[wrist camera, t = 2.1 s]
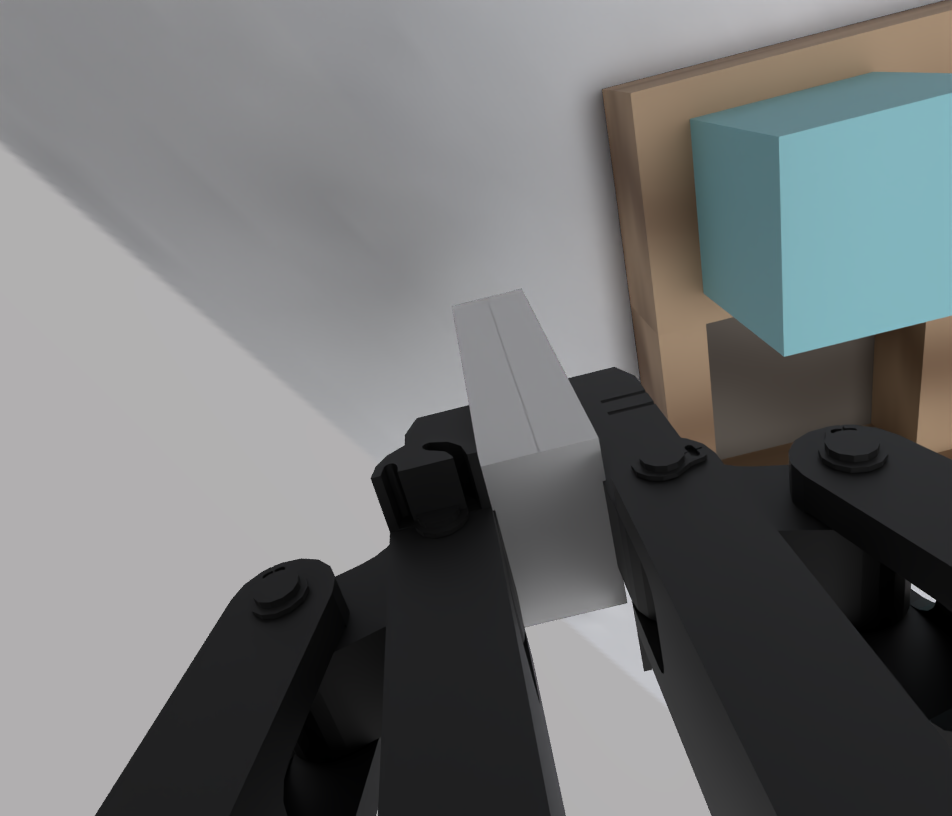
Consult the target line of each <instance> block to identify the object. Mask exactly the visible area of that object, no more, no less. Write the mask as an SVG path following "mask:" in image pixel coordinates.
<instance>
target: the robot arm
mask: <svg viewBox="0 0 952 816" xmlns="http://www.w3.org/2000/svg"><path fill="white" fill-rule="evenodd" d="M452 310H453V315H454V321H455V327H456V333H457V338H458V344H459V350H460V356H461V361H462V367H463V373H464V379H465V384H466V390H467V396H468V401H469V405H468V406H464V407H460V408H456V409H452V410H448V411H444V412H440V413H436V414H432V415H428V416H424V417H420V418H417V419H416V420H415V422H414V423H413V424H412V426H411V427H410V429H409V430H408V432H407V433H406V434H405V446H403V447H401V448H399V449H398V450H396V451H394V452H392V453H391V454H389V455H387V456H386V457H385V458H384V459H383V460H382V461H381V462H380V463H379V464H378V465H377V466H376V467H375V470H374V472H373V474H372V477H371V480H372V483H373V486H374V489H375V492H376V494H377V497H378V500H379V503H380V506H381V508H382V511H383V514H384V517H385V519H386V522H387V525H388V528H389V531H390V545H389V546H388V547H387V548H386V549H384V550H383V551H382V552H380V553H379V554H378V555H377V556H375V557H374V558H372V559H370V560H368V561H366V562H365V563H363V564H361V565H359V566H357V567H355V568H353V569H351V570H349V571H346V572H344V573H342V574H340V575H338V576H336V577H335V576H334V574H333V571H332V569H331V567H330V566H329V565H327V564H325V563H323V562H321V561H320V560H316V559H297V560H293V561H288V562H283V563H280V564H278V565H275V566H274V567H272V568H269V569H267V570H265V571H263V572H261V573H260V574H258V575H257V576H256V577H254V578H253V579H252V580H250V581H249V582H247V583H246V584H245V585H244V586H243V587H242V588H241V589H240V590H239V591H238V593H237V594H236V595H235V596H234V597H233V599H232V600H231V601H230V603H229V604H228V606H227V607H226V609H225V611H224V612H223V614H222V615H221V617H220V618H219V620H218V622H217V623H216V625H215V627H214V628H213V630H212V631H211V633H210V634H209V636H208V638H207V639H206V641H205V642H204V644H203V645H202V647H201V649H200V650H199V652H198V653H197V655H196V657H195V658H194V660H193V661H192V663H191V664H190V666H189V668H188V669H187V671H186V673H185V674H184V675H183V677H182V679H181V680H180V682H179V684H178V685H177V687H176V689H175V690H174V691H173V693H172V694H171V696H170V698H169V699H168V701H167V703H166V704H165V706H164V707H163V709H162V710H161V712H160V713H159V715H158V717H157V718H156V720H155V721H154V723H153V725H152V726H151V728H150V729H149V731H148V733H147V734H146V736H145V737H144V739H143V740H142V742H141V744H140V745H139V747H138V748H137V750H136V752H135V753H134V755H133V756H132V758H131V759H130V761H129V763H128V764H127V766H126V767H125V769H124V770H123V772H122V774H121V775H120V777H119V778H118V780H117V782H116V783H115V785H114V786H113V788H112V790H111V791H110V793H109V794H108V796H107V797H106V799H105V801H104V802H103V804H102V805H101V807H100V808H99V810H98V812H97V813H96V815H95V816H376V814H377V810H378V816H566V815H565V810H564V805H563V801H562V796H561V792H560V787H559V782H558V777H557V772H556V768H555V763H554V759H553V753H552V749H551V744H550V739H549V735H548V730H547V725H546V720H545V716H544V711H543V706H542V701H541V697H540V692H539V687H538V682H537V677H536V673H535V668H534V663H533V659H532V655H531V651H530V647H529V643H528V639H527V636H526V632H525V627H529V626H533V625H537V624H541V623H545V622H549V621H554V620H558V619H562V618H566V617H571V616H575V615H579V614H583V613H587V612H592V611H596V610H600V609H604V608H608V607H612V606H617V605H621V604H625V603H627V598H626V592H625V587H624V583H625V585H626V588H627V590H628V592H629V595H630V597H631V599H632V603H633V609H634V615H635V621H636V627H637V632H638V638H639V644H640V650H641V656H642V662H643V668H644V671H648V670H652V669H653V671H654V674H655V676H656V679H657V681H658V684H659V686H660V689H661V691H662V694H663V696H664V699H665V701H666V704H667V706H668V709H669V711H670V713H671V716H672V718H673V721H674V723H675V726H676V728H677V731H678V733H679V736H680V738H681V741H682V743H683V745H684V748H685V751H686V753H687V756H688V758H689V760H690V763H691V766H692V768H693V770H694V773H695V776H696V778H697V780H698V783H699V785H700V788H701V790H702V793H703V795H704V798H705V800H706V803H707V805H708V808H709V810H710V813H711V815H712V816H952V460H951V459H949V458H947V457H945V456H943V455H941V454H938V453H936V452H934V451H932V450H930V449H928V448H926V447H924V446H921V445H919V444H917V443H915V442H913V441H911V440H909V439H907V438H904V437H902V436H900V435H898V434H895V433H892V432H889V431H886V430H883V429H880V428H876V427H867V426H859V425H841V426H840V425H835V426H828V427H825V428H821V429H817V430H813V431H810V432H808V433H806V434H804V435H803V436H801V437H800V438H798V439H796V440H795V441H794V443H793V444H792V446H791V448H790V450H789V451H788V453H789V465H774V466H732V465H725V464H724V463H723V462H722V461H721V459H720V458H719V457H718V456H717V454H716V453H715V452H714V451H712V450H711V449H710V448H708V447H707V446H706V445H704V444H703V443H700V442H697V441H694V440H690V439H687V438H681V437H680V436H679V434H678V433H677V432H676V430H675V429H674V428H673V426H672V425H671V424H670V422H669V421H668V420H667V418H666V417H665V416H664V414H663V413H662V412H661V410H660V409H659V408H658V406H657V405H656V404H654V401H653V400H652V398H651V397H650V396H649V394H648V393H647V392H645V389H644V387H643V386H642V385H641V383H640V382H639V381H638V379H637V378H636V377H635V376H634V375H632V374H629V373H627V372H625V371H622V370H620V369H618V368H616V367H612V368H608V369H604V370H600V371H596V372H592V373H588V374H584V375H580V376H576V377H572V378H567V376H566V374H565V372H564V370H563V368H562V366H561V364H560V362H559V360H558V358H557V356H556V354H555V353H554V351H553V349H552V347H551V345H550V343H549V341H548V339H547V337H546V335H545V333H544V331H543V329H542V327H541V325H540V323H539V322H538V320H537V318H536V316H535V314H534V312H533V310H532V308H531V306H530V304H529V302H528V300H527V298H526V296H525V294H524V292H523V291H522V289H518V290H514V291H510V292H506V293H502V294H499V295H495V296H491V297H487V298H483V299H479V300H475V301H471V302H467V303H463V304H459V305H455V306H452ZM623 580H624V581H623ZM911 583H912V584H913V585H915V586H916V587H918V588H919V589H921V590H922V591H924V592H925V593H927V594H928V595H930V596H931V597H932V598H934V599H935V600H936V603H934V602H931V601H929V600H927V599H925V598H923V597H922V596H920V595H919V594H918V593H916V592H915V591H913V590H912V589H911Z"/></svg>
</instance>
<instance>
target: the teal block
mask: <svg viewBox="0 0 952 816" xmlns="http://www.w3.org/2000/svg"><path fill="white" fill-rule="evenodd" d="M690 129H691V142H692V154H693V167H694V179H695V192H696V205H697V217H698V230H699V242H700V255H701V268H702V280H703V293H704V294H705V295H706V296H707V297H709V298H710V299H711V300H712V301H714V302H715V303H716V304H718V305H719V306H720V307H721V308H723V309H724V310H725V311H726V312H728V313H729V314H730V315H731V316H733V317H734V318H735V319H737V320H738V321H739V322H740V323H742V324H743V325H744V326H745V327H747V328H748V329H749V330H751V331H752V332H753V333H754V334H756V335H757V336H758V337H759V338H761V339H762V340H763V341H765V342H766V343H767V344H768V345H770V346H771V347H772V348H773V349H775V350H776V351H777V352H779V353H780V354H781V355H782V356H784V357H785V356H790V355H794V354H798V353H802V352H806V351H810V350H814V349H818V348H822V347H826V346H830V345H834V344H838V343H842V342H846V341H850V340H855V339H859V338H863V337H867V336H871V335H875V334H879V333H883V332H887V331H891V330H895V329H899V328H903V327H907V326H911V325H915V324H920V323H924V322H928V321H932V320H936V319H940V318H944V317H948V316H952V73H913V72H870V73H867V74H863V75H859V76H855V77H851V78H847V79H843V80H839V81H835V82H832V83H828V84H824V85H820V86H816V87H812V88H808V89H804V90H800V91H796V92H793V93H789V94H785V95H781V96H777V97H773V98H769V99H765V100H761V101H758V102H754V103H750V104H746V105H742V106H738V107H734V108H730V109H726V110H722V111H719V112H715V113H711V114H707V115H703V116H699V117H695V118H691V119H690Z"/></svg>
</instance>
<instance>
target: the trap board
mask: <svg viewBox="0 0 952 816" xmlns="http://www.w3.org/2000/svg"><path fill="white" fill-rule="evenodd" d="M870 72H913V73H952V0H945V1H941V2H937V3H933V4H929V5H925V6H921V7H917V8H914V9H910V10H906V11H902V12H898V13H894V14H890V15H887V16H883V17H879V18H875V19H871V20H867V21H863V22H860V23H856V24H852V25H848V26H844V27H840V28H836V29H833V30H829V31H825V32H821V33H817V34H813V35H809V36H806V37H802V38H798V39H794V40H790V41H786V42H782V43H778V44H775V45H771V46H767V47H763V48H759V49H755V50H751V51H748V52H744V53H740V54H736V55H732V56H728V57H724V58H721V59H717V60H713V61H709V62H705V63H701V64H697V65H694V66H690V67H686V68H682V69H678V70H674V71H670V72H667V73H663V74H659V75H655V76H651V77H647V78H643V79H639V80H636V81H632V82H628V83H624V84H620V85H616V86H612V87H609V88H605V89H602V93H603V100H604V108H605V116H606V123H607V131H608V138H609V146H610V153H611V161H612V168H613V176H614V184H615V191H616V199H617V206H618V214H619V221H620V229H621V236H622V244H623V252H624V259H625V267H626V274H627V282H628V289H629V297H630V305H631V312H632V320H633V327H634V335H635V342H636V350H637V357H638V365H639V373H640V380H641V385H642V386H643V387H644V389H645V392H647V393H648V394H649V396H650V397H651V398H652V400H653V401H654V404H656V405H657V406H658V408H659V409H660V410H661V412H662V413H663V414H664V416H665V417H666V418H667V420H668V421H669V422H670V424H671V425H672V426H673V428H674V429H675V430H676V432H677V433H678V434H679V436H680V437H681V438H687V439H690V440H694V441H697V442H700V443H703V444H704V445H706V446H707V447H708V448H710V449H711V450H712V451H714V452H715V453H716V454H717V456H718V457H719V458H720V459H721V461H722V462H723V463H724V464H725V465H732V466H774V465H789V453H788V451H789V450H790V448H791V446H792V444H793V443H794V441H795V440H796V439H798V438H800V437H801V436H803V435H804V434H806V433H808V432H810V431H813V430H817V429H821V428H825V427H828V426H835V425H840V426H841V425H859V426H867V427H876V428H880V429H883V430H886V431H889V432H892V433H895V434H898V435H900V436H902V437H904V438H907V439H909V440H911V441H913V442H915V443H917V444H919V445H921V446H924V447H926V448H928V449H930V450H932V451H934V452H936V453H938V454H941V455H943V456H945V457H947V458H949V459H951V460H952V316H948V317H944V318H940V319H936V320H932V321H928V322H924V323H920V324H915V325H911V326H907V327H903V328H899V329H895V330H891V331H887V332H883V333H879V334H875V335H871V336H867V337H863V338H859V339H855V340H850V341H846V342H842V343H838V344H834V345H830V346H826V347H822V348H818V349H814V350H810V351H806V352H802V353H798V354H794V355H790V356H785V357H784V356H782V355H781V354H780V353H779V352H777V351H776V350H775V349H773V348H772V347H771V346H770V345H768V344H767V343H766V342H765V341H763V340H762V339H761V338H759V337H758V336H757V335H756V334H754V333H753V332H752V331H751V330H749V329H748V328H747V327H745V326H744V325H743V324H742V323H740V322H739V321H738V320H737V319H735V318H734V317H733V316H731V315H730V314H729V313H728V312H726V311H725V310H724V309H723V308H721V307H720V306H719V305H718V304H716V303H715V302H714V301H712V300H711V299H710V298H709V297H707V296H706V295H705V294H704V293H703V280H702V268H701V255H700V242H699V230H698V217H697V205H696V192H695V179H694V167H693V154H692V142H691V129H690V119H691V118H695V117H699V116H703V115H707V114H711V113H715V112H719V111H722V110H726V109H730V108H734V107H738V106H742V105H746V104H750V103H754V102H758V101H761V100H765V99H769V98H773V97H777V96H781V95H785V94H789V93H793V92H796V91H800V90H804V89H808V88H812V87H816V86H820V85H824V84H828V83H832V82H835V81H839V80H843V79H847V78H851V77H855V76H859V75H863V74H867V73H870Z"/></svg>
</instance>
